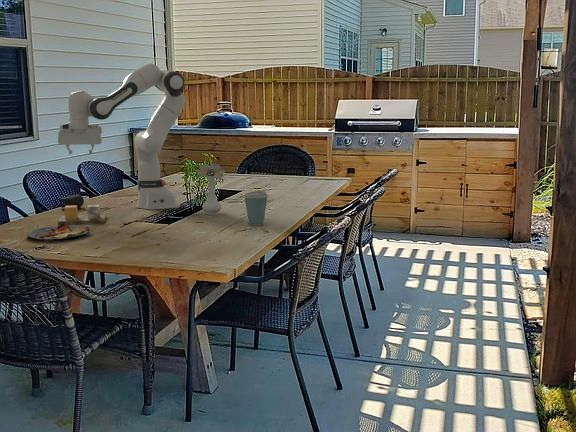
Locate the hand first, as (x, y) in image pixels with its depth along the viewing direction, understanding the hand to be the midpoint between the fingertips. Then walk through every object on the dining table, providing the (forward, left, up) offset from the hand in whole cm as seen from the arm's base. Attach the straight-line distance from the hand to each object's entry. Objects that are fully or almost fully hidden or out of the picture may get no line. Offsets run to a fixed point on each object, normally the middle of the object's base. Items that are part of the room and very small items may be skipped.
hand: (80, 153), depth 317 cm
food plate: (+4, +53, -30) cm, 61 cm away
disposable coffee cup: (-80, +43, -29) cm, 95 cm away
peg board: (-2, +22, -29) cm, 36 cm away
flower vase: (-62, +13, -29) cm, 70 cm away
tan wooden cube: (+3, +22, -28) cm, 35 cm away
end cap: (+7, -12, -29) cm, 33 cm away
